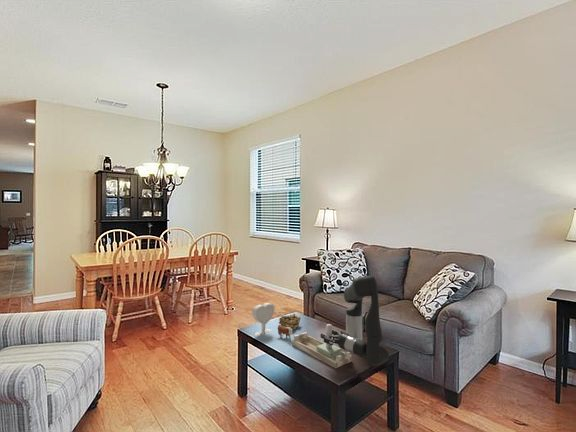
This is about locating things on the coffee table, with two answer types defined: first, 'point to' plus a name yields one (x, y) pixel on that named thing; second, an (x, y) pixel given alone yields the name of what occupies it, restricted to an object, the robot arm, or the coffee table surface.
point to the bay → (310, 347)
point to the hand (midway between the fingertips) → (326, 333)
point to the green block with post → (329, 346)
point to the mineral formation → (290, 321)
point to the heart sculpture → (263, 315)
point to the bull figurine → (284, 331)
